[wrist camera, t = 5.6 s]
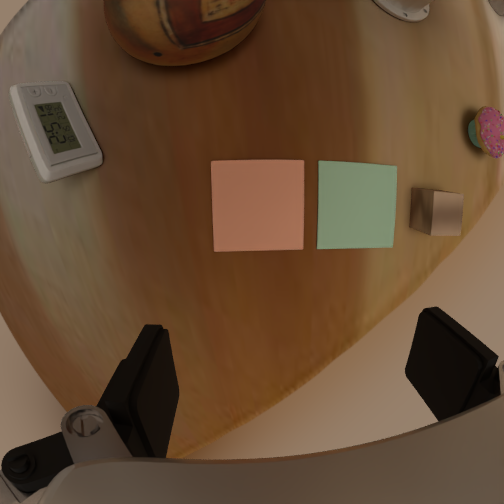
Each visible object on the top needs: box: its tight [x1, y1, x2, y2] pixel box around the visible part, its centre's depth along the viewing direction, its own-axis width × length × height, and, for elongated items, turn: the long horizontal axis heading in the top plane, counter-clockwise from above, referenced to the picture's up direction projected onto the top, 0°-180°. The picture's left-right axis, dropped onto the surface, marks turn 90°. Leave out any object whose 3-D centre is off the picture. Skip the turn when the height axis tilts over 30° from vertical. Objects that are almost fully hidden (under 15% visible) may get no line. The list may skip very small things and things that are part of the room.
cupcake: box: [468, 106, 504, 158], centre depth 31 cm, size 9×8×12 cm
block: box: [409, 188, 464, 236], centre depth 37 cm, size 6×6×6 cm
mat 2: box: [317, 161, 397, 249], centre depth 39 cm, size 12×12×1 cm
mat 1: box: [211, 160, 304, 252], centre depth 39 cm, size 12×12×1 cm
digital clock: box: [9, 81, 103, 183], centre depth 29 cm, size 16×9×11 cm, turn 17°
